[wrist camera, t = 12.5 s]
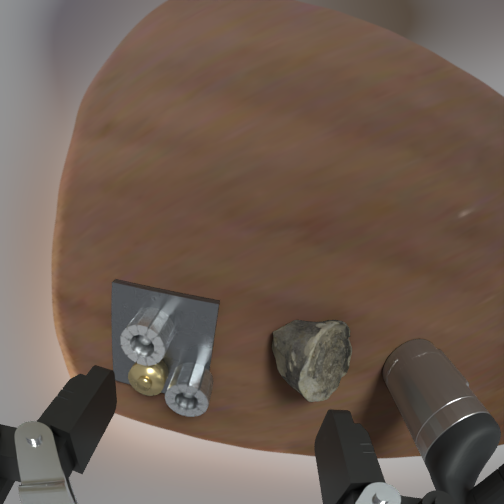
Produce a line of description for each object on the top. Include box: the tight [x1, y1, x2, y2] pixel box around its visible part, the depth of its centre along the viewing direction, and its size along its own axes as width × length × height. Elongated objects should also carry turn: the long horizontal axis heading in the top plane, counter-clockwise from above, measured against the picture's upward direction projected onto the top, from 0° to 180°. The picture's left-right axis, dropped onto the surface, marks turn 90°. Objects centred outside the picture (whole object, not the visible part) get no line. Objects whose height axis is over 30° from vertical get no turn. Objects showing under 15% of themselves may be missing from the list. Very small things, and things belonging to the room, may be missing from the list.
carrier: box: [112, 279, 220, 398], centre depth 39 cm, size 14×16×5 cm
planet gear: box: [120, 307, 175, 366], centre depth 37 cm, size 6×6×5 cm
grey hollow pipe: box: [165, 362, 213, 417], centre depth 39 cm, size 6×6×5 cm
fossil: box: [272, 320, 352, 402], centre depth 38 cm, size 11×9×10 cm
